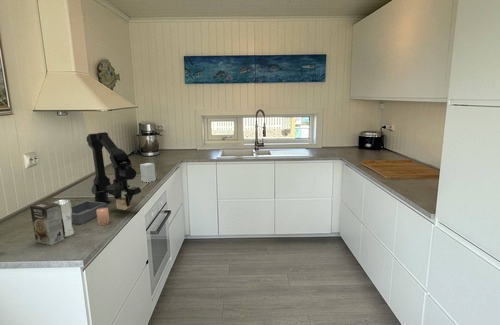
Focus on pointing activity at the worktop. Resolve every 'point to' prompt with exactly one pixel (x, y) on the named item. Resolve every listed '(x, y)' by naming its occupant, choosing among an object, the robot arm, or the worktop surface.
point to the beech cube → (122, 203)
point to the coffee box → (47, 223)
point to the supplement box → (147, 172)
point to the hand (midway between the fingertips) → (124, 205)
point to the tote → (86, 211)
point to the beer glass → (66, 217)
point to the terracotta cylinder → (102, 216)
